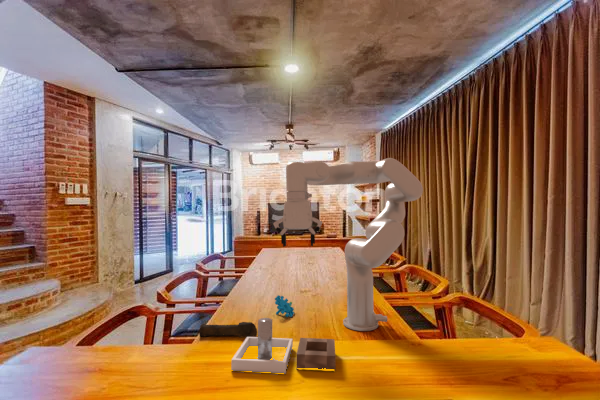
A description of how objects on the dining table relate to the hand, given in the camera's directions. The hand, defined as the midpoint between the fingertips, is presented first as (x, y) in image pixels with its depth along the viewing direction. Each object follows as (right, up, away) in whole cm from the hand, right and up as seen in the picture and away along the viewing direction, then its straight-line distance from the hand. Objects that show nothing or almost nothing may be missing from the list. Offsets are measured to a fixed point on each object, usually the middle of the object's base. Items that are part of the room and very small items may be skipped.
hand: (298, 245), depth 98 cm
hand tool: (-23, -30, -4) cm, 38 cm away
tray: (-9, -28, -20) cm, 36 cm away
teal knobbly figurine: (-5, -31, +15) cm, 35 cm away
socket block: (+5, -28, -21) cm, 36 cm away
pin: (-9, -28, -20) cm, 36 cm away
